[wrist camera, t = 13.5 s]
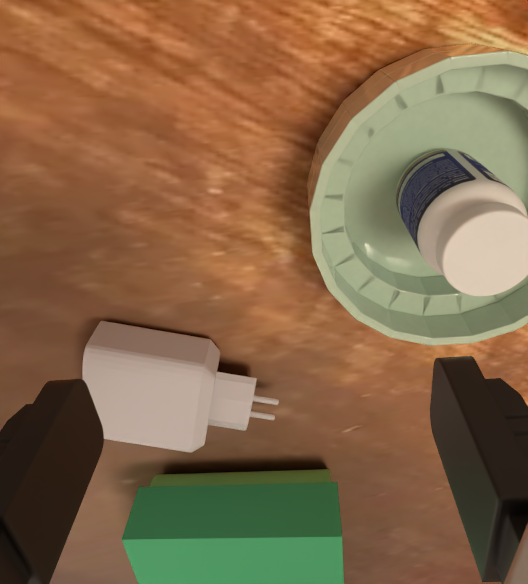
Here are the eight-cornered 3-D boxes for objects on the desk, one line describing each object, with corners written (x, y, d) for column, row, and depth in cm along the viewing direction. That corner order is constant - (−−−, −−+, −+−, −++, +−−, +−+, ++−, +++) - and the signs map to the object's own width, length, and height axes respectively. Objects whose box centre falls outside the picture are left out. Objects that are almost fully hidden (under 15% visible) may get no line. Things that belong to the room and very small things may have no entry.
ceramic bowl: (349, 13, 29) (362, 14, 23) (629, 81, 30) (701, 97, 24) (282, 272, 37) (281, 315, 32) (501, 318, 38) (535, 367, 33)
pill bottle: (390, 231, 34) (424, 307, 26) (397, 148, 32) (438, 201, 23) (475, 229, 34) (538, 305, 25) (490, 144, 31) (567, 197, 23)
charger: (267, 428, 45) (101, 401, 44) (287, 346, 40) (103, 315, 40) (265, 470, 41) (82, 441, 40) (287, 385, 36) (81, 351, 36)
